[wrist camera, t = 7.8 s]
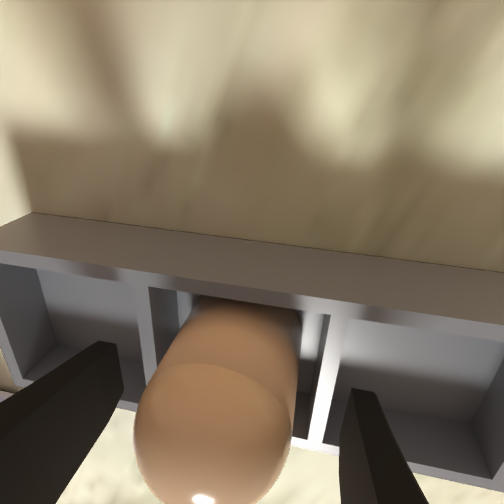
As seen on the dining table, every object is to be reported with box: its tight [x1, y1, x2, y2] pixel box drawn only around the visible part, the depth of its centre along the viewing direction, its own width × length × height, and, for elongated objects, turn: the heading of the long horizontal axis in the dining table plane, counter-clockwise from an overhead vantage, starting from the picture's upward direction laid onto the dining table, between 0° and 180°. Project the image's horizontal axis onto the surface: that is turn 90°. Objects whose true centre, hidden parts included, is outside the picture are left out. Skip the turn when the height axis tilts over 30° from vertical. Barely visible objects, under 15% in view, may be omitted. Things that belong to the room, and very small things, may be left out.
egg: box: [133, 295, 302, 504], centre depth 10 cm, size 4×4×6 cm
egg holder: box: [0, 213, 504, 492], centre depth 12 cm, size 18×6×3 cm, turn 87°
